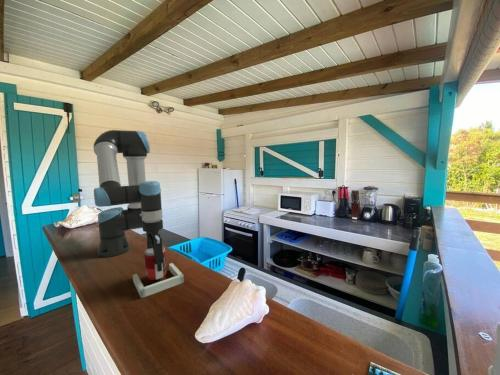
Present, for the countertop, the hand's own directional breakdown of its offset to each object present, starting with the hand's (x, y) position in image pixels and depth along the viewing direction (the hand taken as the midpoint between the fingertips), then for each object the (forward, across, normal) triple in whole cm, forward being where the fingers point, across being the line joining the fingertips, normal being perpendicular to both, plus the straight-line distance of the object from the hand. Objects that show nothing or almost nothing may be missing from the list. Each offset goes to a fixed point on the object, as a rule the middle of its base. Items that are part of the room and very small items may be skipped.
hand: (156, 273), depth 90 cm
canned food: (+1, 0, 0) cm, 1 cm away
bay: (+3, +2, 0) cm, 3 cm away
